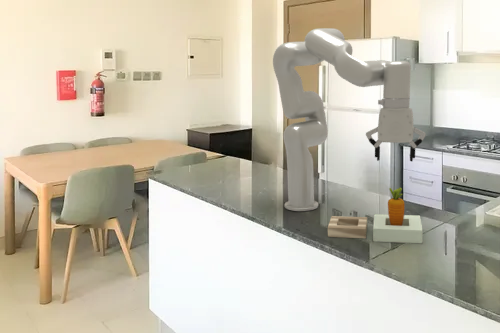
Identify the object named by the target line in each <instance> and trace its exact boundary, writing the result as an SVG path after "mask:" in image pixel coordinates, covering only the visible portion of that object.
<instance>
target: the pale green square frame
mask: <svg viewBox="0 0 500 333" xmlns="http://www.w3.org/2000/svg"><path fill="white" fill-rule="evenodd" d="M423 232H424V231H423V226H422V220H421V216H420V215H417V214H416V215H411V214H409V215H408V214H404V219H403V224H402V226H393V225H391V224H390V220H389V215H388V214H379V213H378V214H376V213H375V214H374V215H373V227H372V242H381V243H383V242H384V243H385V242H386V243H405V244H423V235H424V234H423Z"/></svg>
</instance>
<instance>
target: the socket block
mask: <svg viewBox="0 0 500 333" xmlns="http://www.w3.org/2000/svg"><path fill="white" fill-rule="evenodd" d="M367 230H368V217H366V216H339V215H334V216H333V215H331V217H330V220H329V222H328V226H327V237H329V238H347V239H348V238H351V239H367V232H368V231H367Z"/></svg>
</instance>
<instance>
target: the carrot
mask: <svg viewBox="0 0 500 333" xmlns="http://www.w3.org/2000/svg"><path fill="white" fill-rule="evenodd" d="M388 190H389V192H390V193H391V195H392V198H389V199H388V200H387V212H388V214H387V215H389V220H390V224H391V225H393V226H402V224H403V219H404V215H405V201H404V200H403V199H402V198H400V197H402V196H403V193H401V192H402V190H403V189H402V187H398V188H396V189H392V188H391V187H389V188H388Z"/></svg>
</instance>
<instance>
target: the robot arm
mask: <svg viewBox="0 0 500 333" xmlns="http://www.w3.org/2000/svg"><path fill="white" fill-rule="evenodd" d="M323 61H325V62H327V63H328V64H330V65H332V66H333V67H334V70H335V72H336V73H337V75H338V76H339V77H340V78H341V79H343V80H345V81H347V82H349V83H350V84H351V85H354V86H356V87H359V88H368V87H377V86H378V87H379V86H383V95H382V96H383V98H382V99H378V100H377V104H378V105H381V106H382V107H381V108H379V115H378V122H377V126H376V127H375V128H373V129H370V130H369V131H367V132H365V136H366V139H368V142H369V143H370V144H371V145H372V146H373V147H374V158H376V161H377V162H379V161H380V159H381V158H380V157H381V156H380V155H381V153H380V152H381V147H380V145H381V144H382V143H398V144H399V143H402V144H403V143H404V144H405V143H408V144H409V145H410V147H409V161H410V162H413V160H414V159H415V158H416V148H417V147H418V146H419V145H421V143H422V142H423V141H424V139H425V138H426V135H427V134H426V132H425V131H423V130H420V129H419V128H416V127H414V113H413V108H412V107H410V96H411V72H412V71H411V70H412V68H411V63H410V62H409V61H407V60H393V61H392V60H391V61H390V60H383V59H381V60H380V59H379V60H377V59H376V60H364V61H363V60H360V59H358V58H356V57H354V56H353V46H352V44H351V43H350V42H348V41H346V40H345V36H344V33H343V32H341V30H340V29H337V28H333V27H331V28H330V27H329V28H328V27H327V28H323V27H322V28H321V27H320V28H313V29H312V30H310V31H308V32H307V33H306V35H305V37H304V41H288V42H285V43H282V44H280V45H279V46H278V47H277V48H276V49H275V51H274V53H273V56H272V67H273V71H274V74H275V77H276V80H277V84H278V90H279V95H280V100H281V101H280V102H281V106H282V111H283V115H284V117H286V118H287V119H289V120H297V119H304V121H299V122H294V123H291V124H289V125H287V127H285V129H284V131H283V142H284V147H285V153H286V167H287V168H286V169H287V195H288V196H287V197H288V201H285V203H284V208H285V209H286V210H289V211H293V212H308V211H313V210H316V209H318V208H319V202H318V201H316V200H315V191H314V190H315V186H314V184H315V183H314V182H315V181H314V159H313V155H312V153H311V152H310V150H309V148H310V147H315V146H319V145H322V144H324V143H325V141H326V140H327V139H328V131H329V130H328V125H327V124H328V123H327V119H326V118H327V117H326V112H325V106H324V102H323V100H322V98H321V96H320V94H319V93H317V92H316V91H314V90H313V91H312V90H306V91H305V90H304V86H303V81H302V77H301V75H300V73H299V72H298V71H297V70H296V69H295V68H296V67H307V66H314V65H318V64H320V63H322V62H323ZM376 133H377V140H376V139H374V138H373V136H372V135H374V134H376ZM414 133H415V134H417V135H419V137H418V138H417V140H415V141H414Z"/></svg>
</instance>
